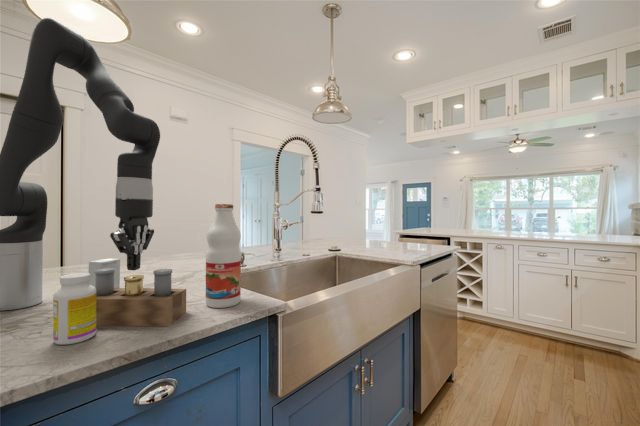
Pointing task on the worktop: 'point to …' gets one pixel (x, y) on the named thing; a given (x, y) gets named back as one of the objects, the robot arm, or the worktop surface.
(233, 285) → the fruit juice
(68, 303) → the supplement bottle
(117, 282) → the skincare box
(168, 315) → the socket block
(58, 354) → the worktop surface
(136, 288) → the plug mid
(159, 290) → the plug
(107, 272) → the plug
